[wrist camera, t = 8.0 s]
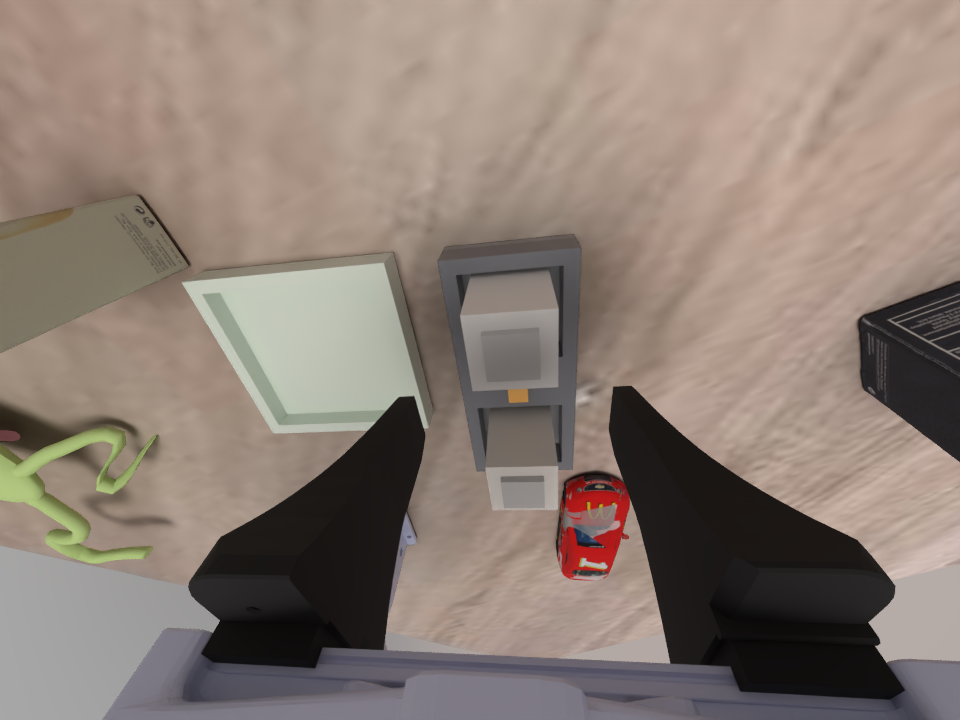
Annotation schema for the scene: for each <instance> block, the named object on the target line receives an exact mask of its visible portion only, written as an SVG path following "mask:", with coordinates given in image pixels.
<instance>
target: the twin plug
mask: <svg viewBox="0 0 960 720" xmlns="http://www.w3.org/2000/svg"><path fill="white" fill-rule="evenodd" d="M485 469H486V475H487V481H488V487H489V493H490V499H491V505H492V510H558V461H557V454H556V446H555V439H554V432H553V424H552V417H551V409H550V405H545V406H521V407H496V408H490V412H489V425H488V438H487V451H486V465H485Z"/></svg>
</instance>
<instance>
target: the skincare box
mask: <svg viewBox="0 0 960 720" xmlns="http://www.w3.org/2000/svg"><path fill="white" fill-rule="evenodd" d="M187 267H188V264H187V263H186V261H185V260H184V258H183V257H182V255H181V254H180V253H179V251H178V250H177V248H176V247H175V245H174V244H173V242H172V241H171V240H170V238H169V237H168V235H167V234H166V233H165V231H164V230H163V228H162V227H161V226H160V224H159V223H158V221H157V220H156V219H155V217H154V216H153V215H152V213H151V212H150V211H149V209H148V208H147V207H146V206H145V204H144V203H143V202H142V200H141V199H140V198H139V196H137V195H130V196H125V197H120V198H115V199H110V200H106V201H101V202H96V203H92V204H87V205H83V206H78V207H73V208H68V209H64V210H59V211H54V212H49V213H44V214H40V215H35V216H30V217H25V218H20V219H16V220H11V221H6V222H1V223H0V353H2V352H4V351H6V350H8V349H10V348H13V347H15V346H17V345H19V344H21V343H24V342H26V341H28V340H30V339H33V338H35V337H37V336H39V335H41V334H43V333H45V332H48V331H50V330H52V329H54V328H56V327H58V326H60V325H63V324H65V323H67V322H69V321H71V320H73V319H76V318H78V317H80V316H82V315H84V314H87V313H89V312H91V311H93V310H95V309H97V308H100V307H102V306H104V305H106V304H109V303H111V302H113V301H115V300H117V299H119V298H122V297H124V296H126V295H128V294H130V293H132V292H135V291H137V290H139V289H141V288H143V287H146V286H148V285H150V284H152V283H155V282H157V281H159V280H161V279H163V278H165V277H167V276H170V275H172V274H174V273H176V272H179V271H181V270H183V269H185V268H187Z"/></svg>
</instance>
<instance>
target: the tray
mask: <svg viewBox="0 0 960 720" xmlns="http://www.w3.org/2000/svg"><path fill="white" fill-rule="evenodd" d="M182 284H183V285H184V287H185V289H186V290H187V292H188V294H189V295H190V297H191V299H192V300H193V302H194V303H195V305H196V307H197V308H198V310H199V312H200V313H201V315H202V317H203V318H204V320H205V322H206V323H207V325H208V326H209V328H210V330H211V331H212V333H213V335H214V336H215V338H216V340H217V341H218V343H219V345H220V346H221V348H222V349H223V351H224V353H225V354H226V356H227V358H228V359H229V361H230V363H231V364H232V366H233V368H234V369H235V371H236V372H237V374H238V376H239V377H240V379H241V381H242V382H243V384H244V386H245V387H246V389H247V391H248V392H249V394H250V395H251V397H252V399H253V400H254V402H255V404H256V405H257V407H258V409H259V410H260V412H261V414H262V415H263V417H264V418H265V420H266V422H267V423H268V425H269V427H270V428H271V430H272V432H273V433H303V432H332V431H361V430H369V429H370V428H371V427H372V426H373V425H374V424H375V422H376V421H377V420H378V419H379V418H380V417H381V416H382V415H383V414H384V413H385V411H386V410H387V409H388V408H389V407H390V406H391V405H392V404H393V403H394V401H395V400H396V399H397V398H398V397H405V396H415V400H416V403H417V407H418V410H419V414H420V418H421V421H422V425H423V428H429V426H430V422H431V418H432V414H433V407H432V404H431V400H430V396H429V392H428V388H427V384H426V380H425V376H424V372H423V368H422V364H421V360H420V356H419V352H418V348H417V344H416V340H415V336H414V332H413V329H412V325H411V321H410V317H409V313H408V309H407V305H406V301H405V297H404V293H403V289H402V285H401V281H400V277H399V273H398V269H397V265H396V261H395V257H394V254H393V252H391V253H381V254H371V255H361V256H351V257H341V258H331V259H321V260H311V261H301V262H291V263H281V264H271V265H261V266H251V267H241V268H231V269H221V270H211V271H204V272H201V273H199V274H197V275H195V276H193V277H191V278H189V279H187V280H185V281H183V282H182Z"/></svg>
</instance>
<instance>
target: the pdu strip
mask: <svg viewBox="0 0 960 720" xmlns="http://www.w3.org/2000/svg"><path fill="white" fill-rule="evenodd" d="M580 264H581V246H580V245H579V243H578V241H577V239H576V237H575V235H574V234H570V235H560V236H550V237H540V238H530V239H520V240H510V241H500V242H490V243H480V244H470V245H460V246H450V247H445V248H444V250H443V252H442V254H441V256H440V257H439V259H438V266H439V272H440V277H441V282H442V288H443V293H444V298H445V304H446V309H447V314H448V320H449V325H450V330H451V336H452V341H453V346H454V352H455V357H456V363H457V368H458V373H459V379H460V384H461V389H462V395H463V400H464V405H465V411H466V416H467V421H468V427H469V432H470V437H471V443H472V448H473V453H474V459H475V464H476V469H477V471H486V469H485V465H486V451H487V438H488V425H489V412H490V408H496V407H521V406H545V405H550V409H551V417H552V424H553V432H554V439H555V446H556V454H557V461H558V470H573V453H574V426H575V399H576V372H577V345H578V318H579V291H580ZM541 267H548V268H549V272H550V276H551V280H552V284H553V288H554V292H555V296H556V300H557V304H558V308H559V312H558V387H553V388H532V389H510V390H489V391H472V385H471V379H470V373H469V367H468V361H467V355H466V349H465V343H464V337H463V331H462V325H461V319H460V314H461V310H462V306H463V303H464V299H465V295H466V291H467V287H468V284H469V280H470V276H471V274H474V273H485V272H496V271H508V270H519V269H530V268H541Z"/></svg>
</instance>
